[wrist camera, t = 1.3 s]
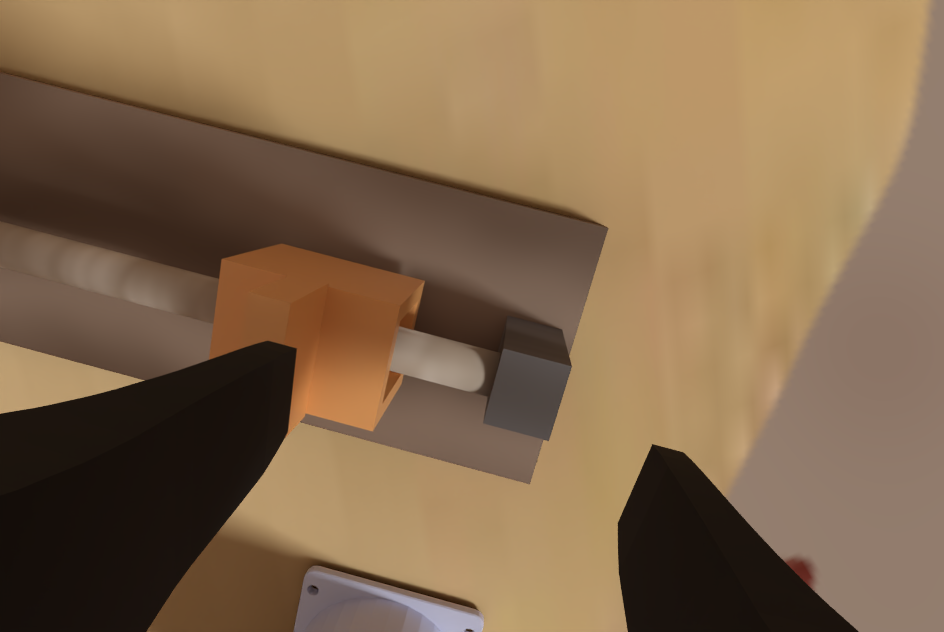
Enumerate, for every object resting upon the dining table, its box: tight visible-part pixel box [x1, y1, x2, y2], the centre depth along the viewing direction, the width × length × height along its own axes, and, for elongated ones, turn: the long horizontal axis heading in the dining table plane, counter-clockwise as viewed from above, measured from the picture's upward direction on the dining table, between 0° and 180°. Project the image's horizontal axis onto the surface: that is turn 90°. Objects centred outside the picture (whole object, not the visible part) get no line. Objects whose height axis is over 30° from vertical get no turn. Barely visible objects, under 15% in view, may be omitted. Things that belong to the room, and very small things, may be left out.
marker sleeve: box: [209, 244, 425, 436], centre depth 16 cm, size 4×5×6 cm
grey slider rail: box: [0, 72, 608, 484], centre depth 18 cm, size 10×28×6 cm, turn 76°
